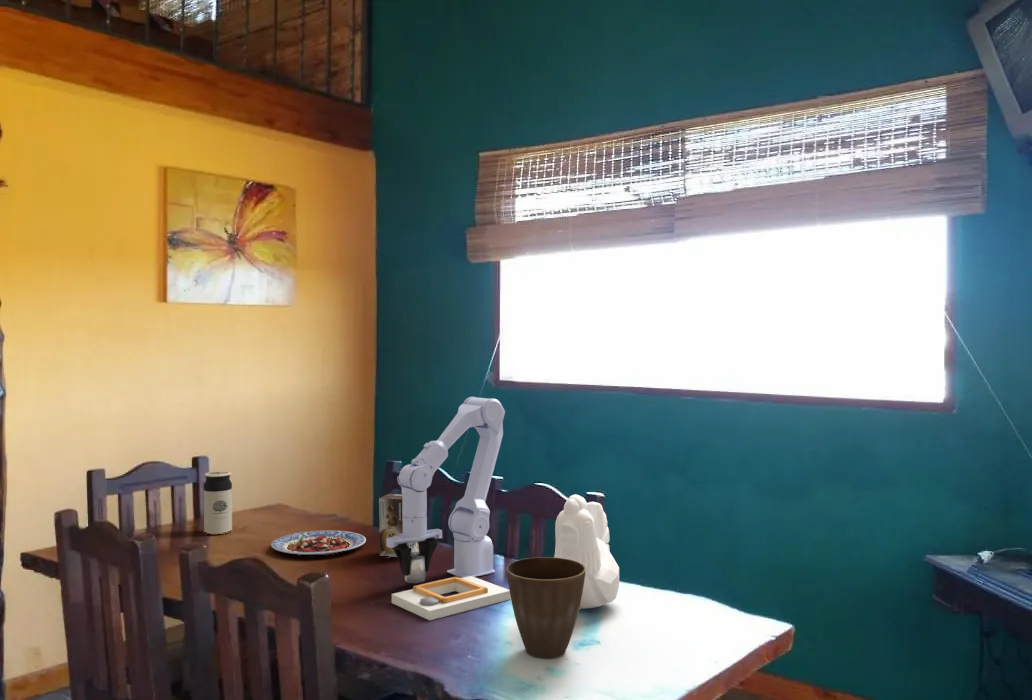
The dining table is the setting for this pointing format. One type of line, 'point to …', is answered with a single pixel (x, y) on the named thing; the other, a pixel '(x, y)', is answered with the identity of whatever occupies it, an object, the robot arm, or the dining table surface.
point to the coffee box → (391, 522)
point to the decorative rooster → (588, 549)
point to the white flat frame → (449, 597)
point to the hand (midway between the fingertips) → (415, 572)
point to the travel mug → (217, 502)
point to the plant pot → (546, 602)
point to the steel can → (416, 568)
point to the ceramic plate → (319, 542)
